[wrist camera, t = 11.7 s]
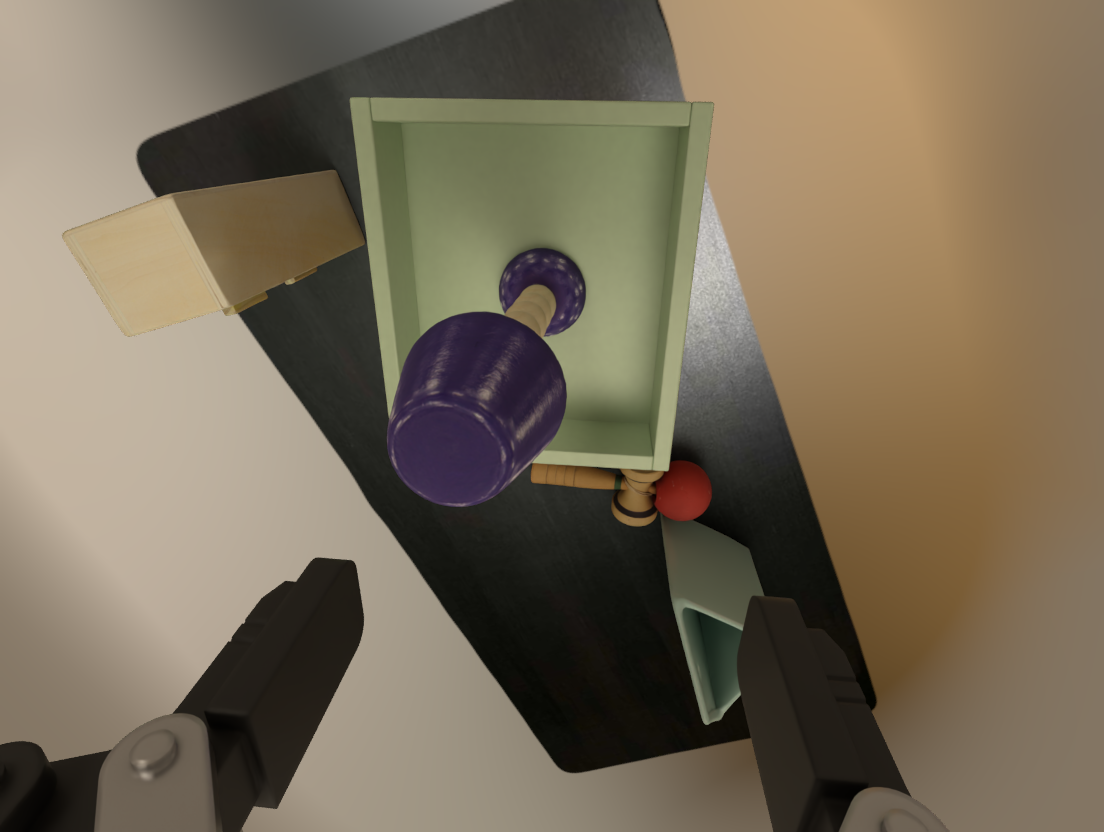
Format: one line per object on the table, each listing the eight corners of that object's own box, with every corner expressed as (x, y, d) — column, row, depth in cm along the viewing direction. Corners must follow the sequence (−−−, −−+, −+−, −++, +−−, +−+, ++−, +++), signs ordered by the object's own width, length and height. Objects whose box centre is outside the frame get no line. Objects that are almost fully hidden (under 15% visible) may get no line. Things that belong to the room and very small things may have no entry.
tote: (386, 102, 25) (348, 97, 22) (698, 106, 24) (714, 101, 21) (417, 418, 32) (392, 455, 28) (661, 432, 31) (668, 471, 27)
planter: (763, 602, 66) (818, 772, 49) (695, 615, 68) (725, 784, 51) (732, 489, 60) (782, 636, 42) (658, 506, 62) (677, 655, 44)
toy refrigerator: (295, 275, 54) (129, 349, 35) (258, 195, 51) (54, 229, 32) (371, 252, 52) (238, 317, 34) (337, 168, 50) (170, 188, 31)
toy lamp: (477, 310, 28) (330, 503, 14) (508, 219, 26) (375, 328, 11) (566, 346, 29) (519, 573, 14) (604, 259, 27) (595, 416, 12)
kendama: (539, 491, 64) (704, 519, 61) (524, 515, 58) (706, 547, 55) (544, 425, 62) (716, 450, 58) (529, 442, 56) (719, 472, 52)
